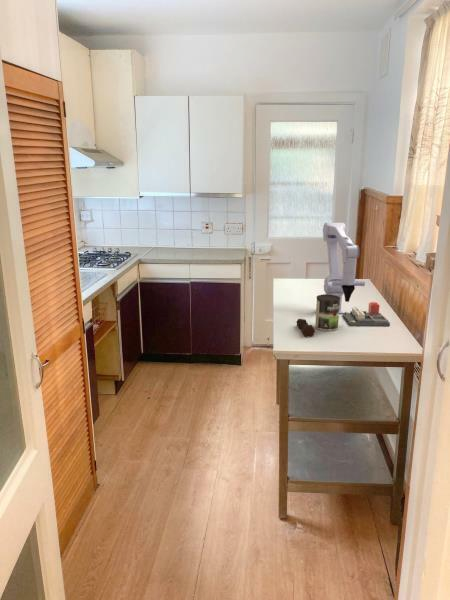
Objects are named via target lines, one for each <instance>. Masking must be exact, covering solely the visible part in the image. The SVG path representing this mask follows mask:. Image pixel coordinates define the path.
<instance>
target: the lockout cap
mask: <svg viewBox="0 0 450 600" xmlns="http://www.w3.org/2000/svg"><path fill="white" fill-rule="evenodd" d="M367 313H380V304H379V303H378V302H376V301H371V302H368V310H367Z"/></svg>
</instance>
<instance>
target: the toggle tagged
mask: <svg viewBox="0 0 450 600" xmlns="http://www.w3.org/2000/svg"><path fill="white" fill-rule="evenodd" d="M355 318H356V319H357V320H365V314H364V313H363V312H362V310H361V311H360V310H358V311H356V314H355Z"/></svg>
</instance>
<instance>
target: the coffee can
mask: <svg viewBox="0 0 450 600" xmlns="http://www.w3.org/2000/svg"><path fill="white" fill-rule="evenodd" d="M324 294H325V295H323V294H319V295H317V296H316V304H315V305H316V308H315V309H316V310H315V322H314V323H315V324H314V328H315V329H317V330H320V331H324V332H332V331H333V332H334V331H336V330H338V329H339V317H340V314H339V304H340V297H338V296H335V295H327V294H326V293H324Z"/></svg>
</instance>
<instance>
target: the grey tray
mask: <svg viewBox="0 0 450 600" xmlns="http://www.w3.org/2000/svg"><path fill="white" fill-rule="evenodd" d="M361 311H362V310H361ZM362 312H363V313H364V314H365V320H357V319H356V318H355V315H353V314H352V310H350V312H348V311H345V312H343V314H342V317H343V319H345V321H346V322H347V324H348V325H349V326H350V327H366V326H367V327H390V325H391V322H390V321H389V320H388V318H387V317H385V315H383V314H382V313H381V312H379V313H368V312H367V311H365V310H363V311H362Z"/></svg>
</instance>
